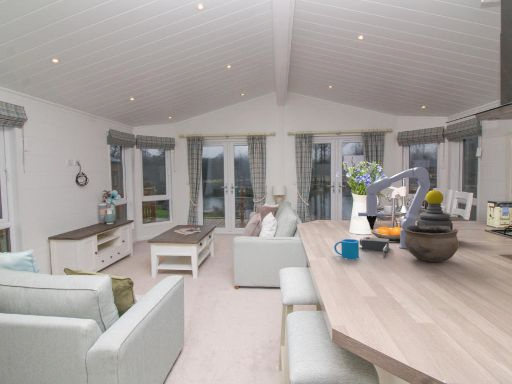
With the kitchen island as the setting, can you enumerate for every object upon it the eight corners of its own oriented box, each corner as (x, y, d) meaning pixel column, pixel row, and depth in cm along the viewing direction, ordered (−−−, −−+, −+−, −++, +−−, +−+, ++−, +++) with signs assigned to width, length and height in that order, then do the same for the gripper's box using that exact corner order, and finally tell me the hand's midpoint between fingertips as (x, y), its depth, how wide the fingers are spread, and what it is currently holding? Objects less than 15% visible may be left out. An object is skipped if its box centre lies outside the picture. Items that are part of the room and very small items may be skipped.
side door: (385, 250, 165) (385, 243, 165) (389, 251, 164) (389, 243, 164) (382, 256, 154) (382, 248, 154) (385, 257, 153) (385, 249, 153)
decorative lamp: (409, 238, 193) (409, 190, 192) (433, 236, 199) (433, 188, 197) (435, 245, 175) (435, 191, 174) (460, 242, 181) (461, 190, 179)
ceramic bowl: (467, 268, 133) (467, 233, 132) (412, 266, 138) (412, 232, 137) (446, 254, 155) (447, 224, 154) (399, 253, 159) (399, 224, 158)
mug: (360, 255, 157) (360, 239, 157) (356, 260, 150) (356, 243, 150) (336, 253, 163) (336, 237, 163) (332, 257, 156) (331, 241, 156)
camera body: (389, 247, 172) (389, 237, 172) (387, 251, 165) (387, 240, 164) (360, 245, 179) (360, 235, 178) (358, 248, 171) (358, 238, 171)
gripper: (357, 205, 176) (357, 229, 177) (385, 206, 169) (385, 231, 170) (359, 204, 182) (359, 227, 183) (386, 205, 176) (386, 229, 176)
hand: (371, 229), depth 177 cm, fingers closed
